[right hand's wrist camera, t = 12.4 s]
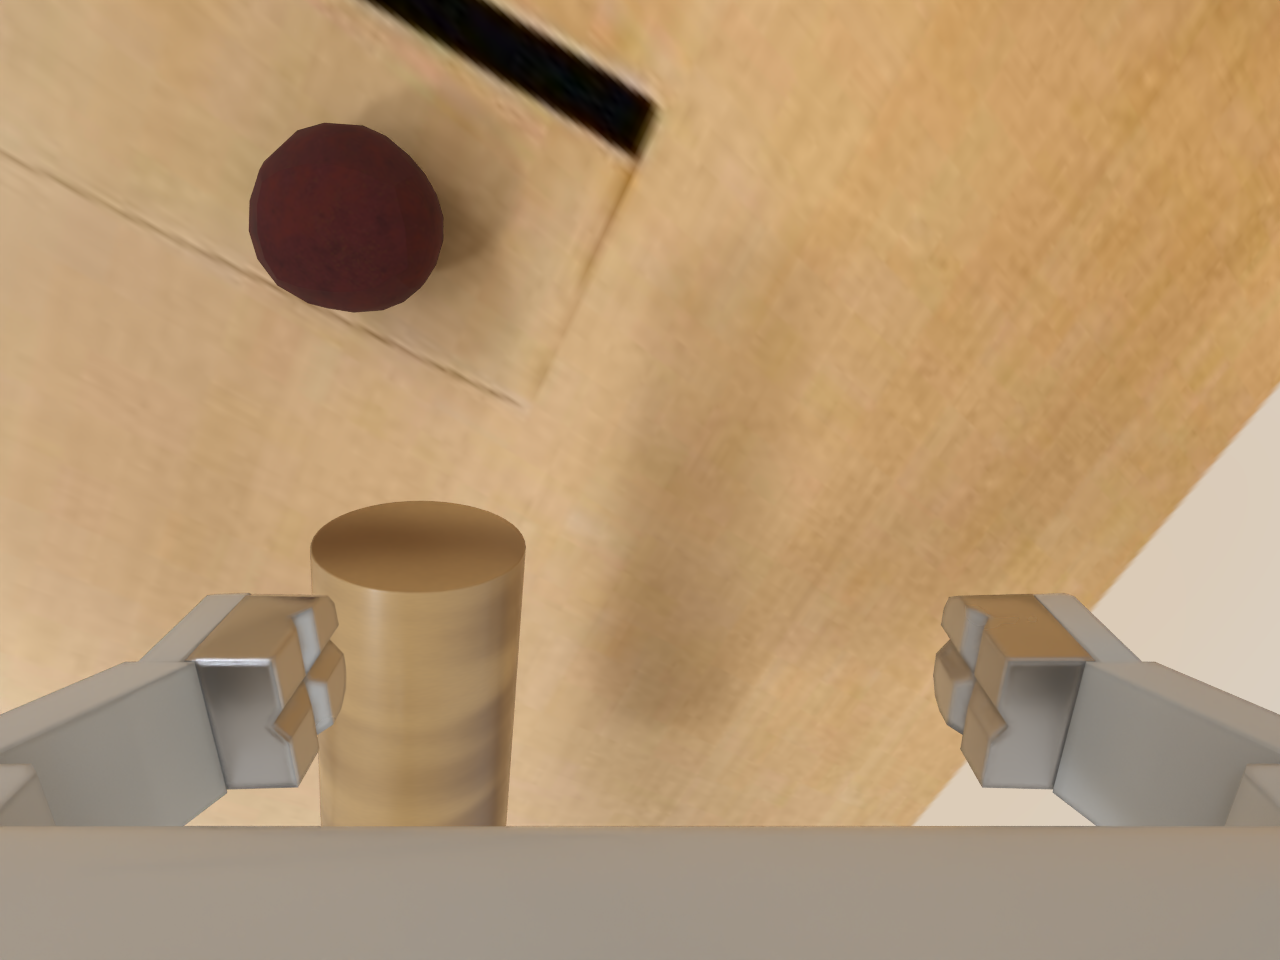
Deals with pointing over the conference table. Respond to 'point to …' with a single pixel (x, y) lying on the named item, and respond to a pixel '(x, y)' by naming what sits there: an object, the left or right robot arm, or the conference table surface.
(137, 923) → the right robot arm
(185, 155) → the conference table surface
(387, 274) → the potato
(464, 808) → the rod
